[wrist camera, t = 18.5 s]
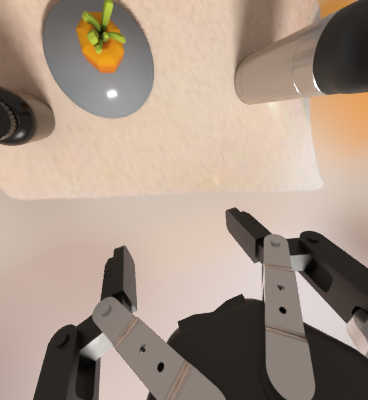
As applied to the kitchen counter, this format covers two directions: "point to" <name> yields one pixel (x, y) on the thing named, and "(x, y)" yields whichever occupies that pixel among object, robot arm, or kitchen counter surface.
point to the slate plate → (86, 73)
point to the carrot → (101, 39)
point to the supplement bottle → (23, 118)
